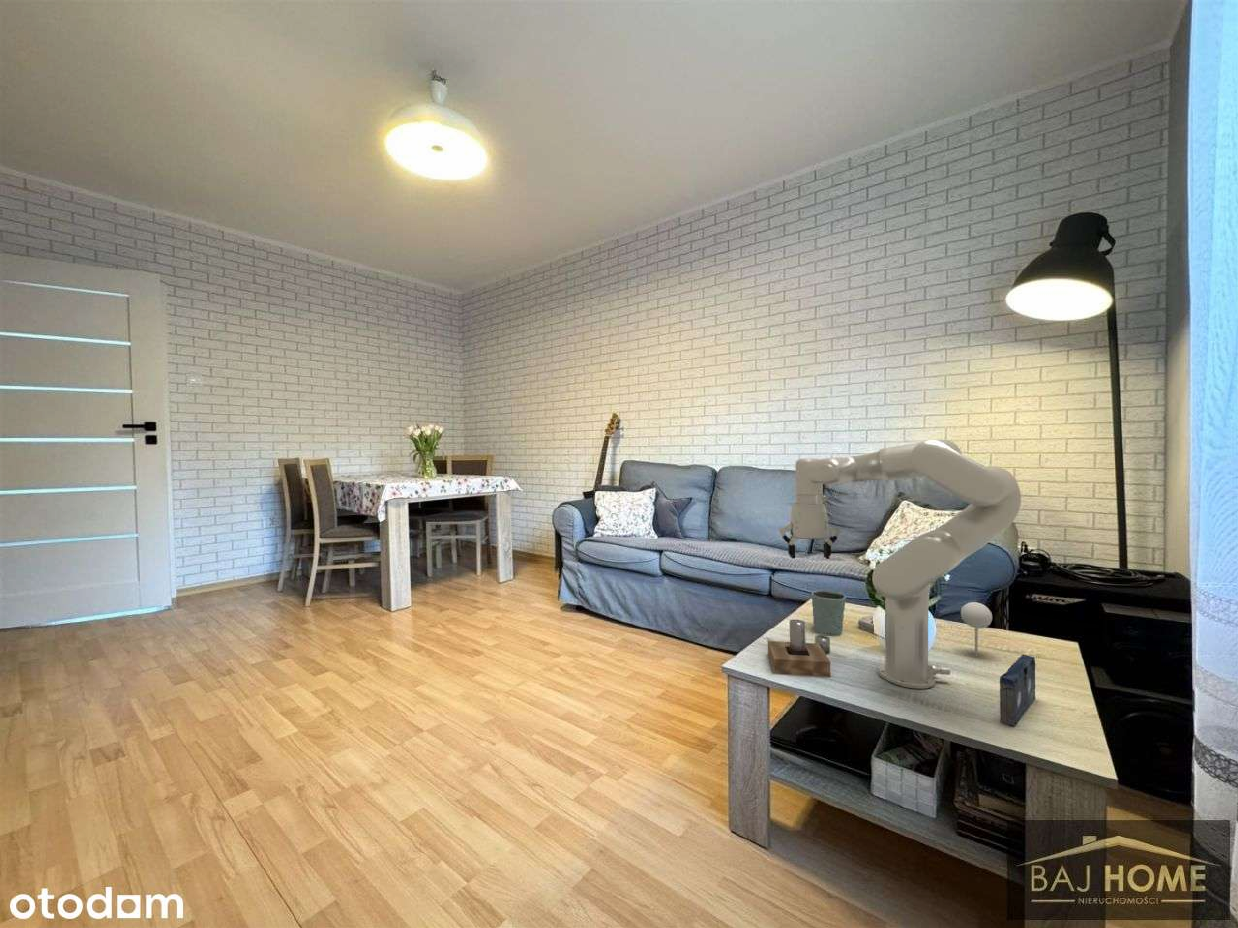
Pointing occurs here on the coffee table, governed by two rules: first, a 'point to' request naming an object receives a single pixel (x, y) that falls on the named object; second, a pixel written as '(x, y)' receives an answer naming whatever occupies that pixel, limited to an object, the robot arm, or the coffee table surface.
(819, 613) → the grey green cup
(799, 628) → the tall pin
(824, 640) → the short pin
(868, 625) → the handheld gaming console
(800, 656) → the hole block
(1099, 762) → the coffee table surface
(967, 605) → the lollipop
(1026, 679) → the vhs cassette tape
